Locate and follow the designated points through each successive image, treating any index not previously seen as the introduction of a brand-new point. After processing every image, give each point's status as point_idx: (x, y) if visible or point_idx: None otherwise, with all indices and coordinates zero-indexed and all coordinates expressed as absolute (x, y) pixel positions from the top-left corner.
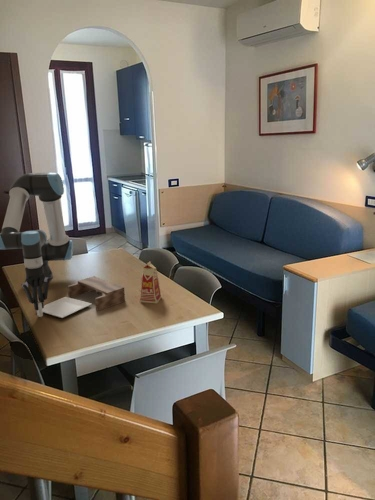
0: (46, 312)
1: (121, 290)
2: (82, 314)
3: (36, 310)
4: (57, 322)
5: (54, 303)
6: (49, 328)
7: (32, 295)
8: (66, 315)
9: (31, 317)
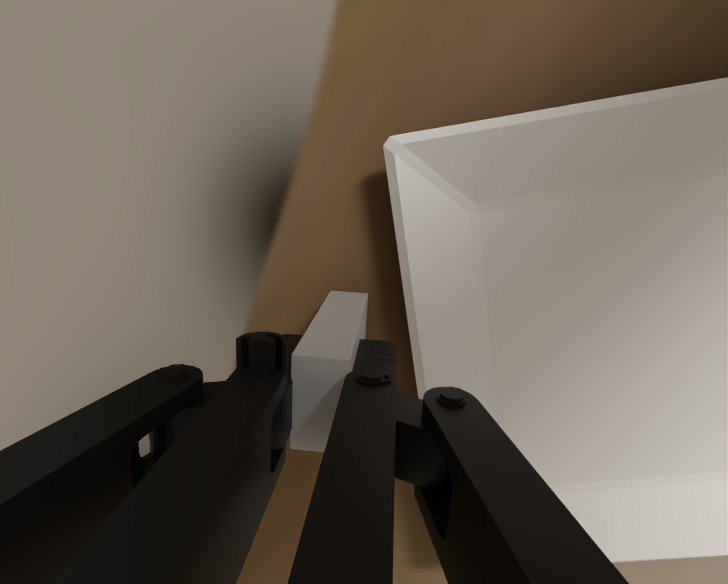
0: (419, 352)
1: None
2: (652, 573)
3: (390, 167)
4: (394, 532)
5: (695, 131)
6: (284, 569)
7: (175, 448)
8: None
9: (288, 237)
